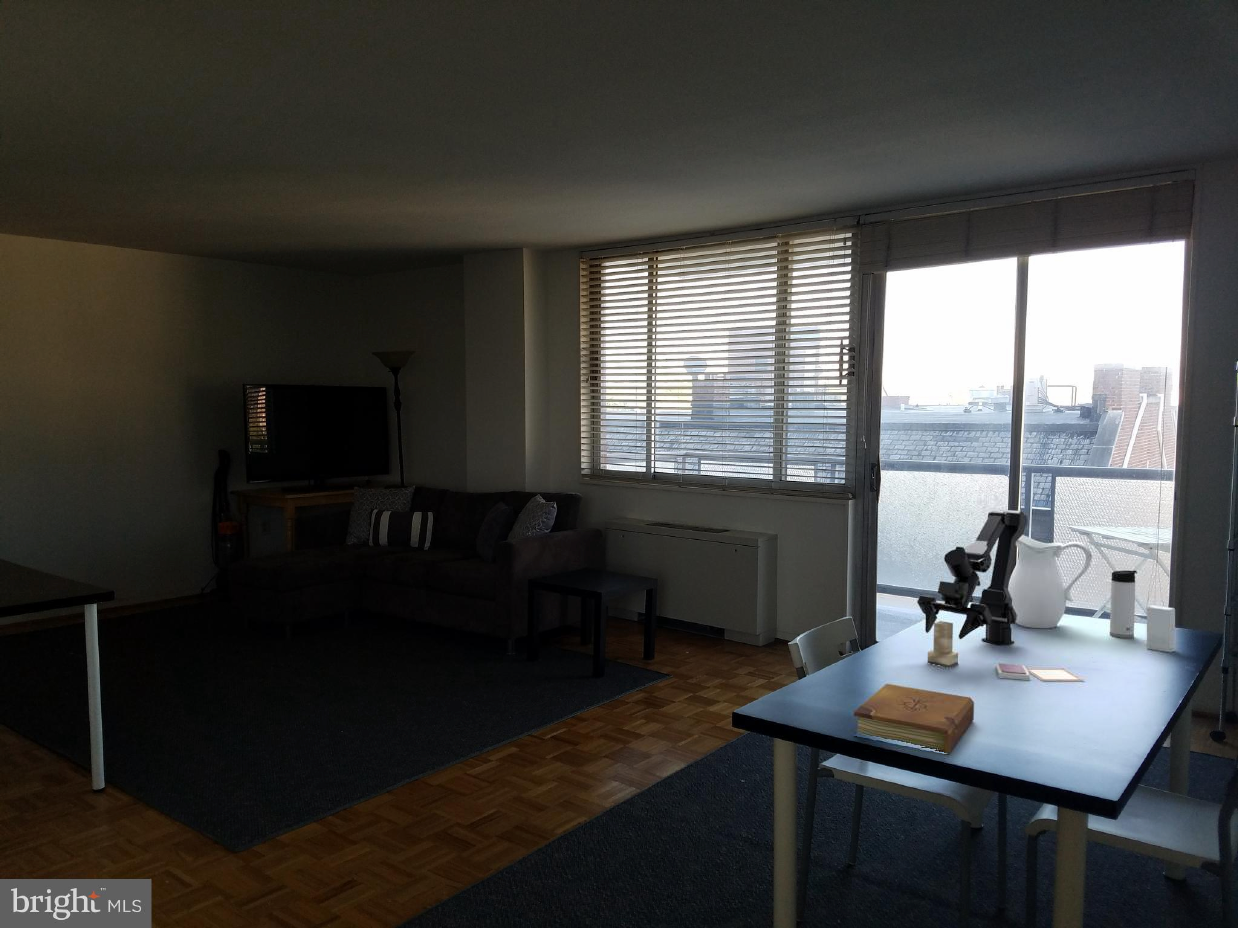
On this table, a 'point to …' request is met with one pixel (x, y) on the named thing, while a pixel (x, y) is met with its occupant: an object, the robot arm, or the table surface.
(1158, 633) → the skincare box
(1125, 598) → the travel mug
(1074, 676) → the marked card
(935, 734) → the diary
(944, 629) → the stamp
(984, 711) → the table surface
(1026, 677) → the ink pad
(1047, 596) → the pitcher
